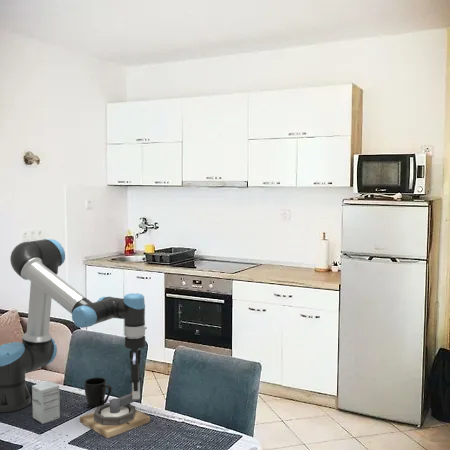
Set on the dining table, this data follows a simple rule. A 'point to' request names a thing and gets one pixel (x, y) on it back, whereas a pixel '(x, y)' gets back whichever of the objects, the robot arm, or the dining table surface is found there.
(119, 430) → the dial board
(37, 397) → the supplement box
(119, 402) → the dial
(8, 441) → the dining table surface
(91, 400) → the mug
